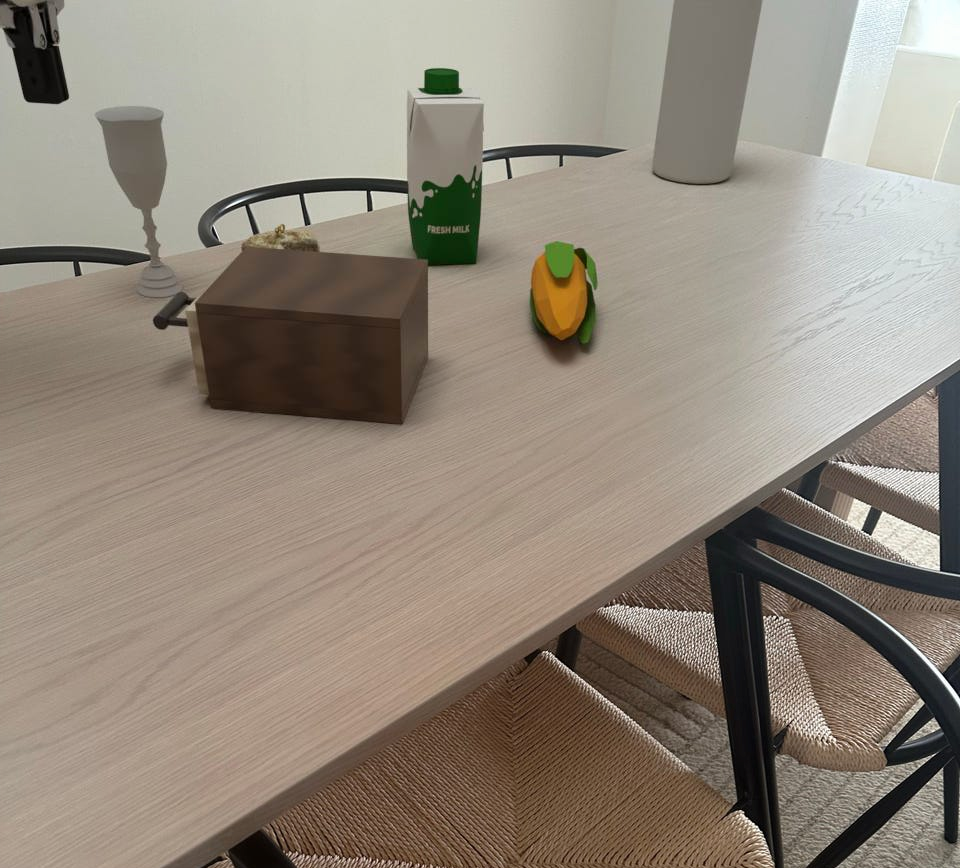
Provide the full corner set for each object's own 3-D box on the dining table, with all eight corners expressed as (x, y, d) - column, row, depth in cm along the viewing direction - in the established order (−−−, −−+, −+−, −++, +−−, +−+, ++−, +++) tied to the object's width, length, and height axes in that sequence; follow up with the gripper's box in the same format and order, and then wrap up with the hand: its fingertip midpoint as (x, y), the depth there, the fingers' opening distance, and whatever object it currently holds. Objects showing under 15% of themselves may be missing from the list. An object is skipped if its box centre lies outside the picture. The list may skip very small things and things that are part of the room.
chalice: (201, 293, 112) (174, 118, 100) (142, 305, 109) (108, 125, 97) (177, 273, 116) (149, 103, 105) (120, 284, 113) (84, 109, 102)
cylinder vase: (635, 171, 157) (658, -16, 141) (684, 159, 164) (711, -21, 148) (698, 190, 150) (729, -5, 134) (746, 176, 157) (781, -11, 141)
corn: (595, 225, 110) (607, 290, 95) (592, 293, 115) (604, 365, 100) (528, 227, 111) (530, 292, 95) (529, 295, 116) (530, 367, 100)
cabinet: (210, 408, 90) (194, 302, 84) (257, 343, 102) (246, 246, 95) (402, 424, 89) (400, 318, 83) (428, 357, 100) (428, 259, 94)
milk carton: (470, 242, 128) (475, 67, 116) (485, 266, 122) (491, 83, 109) (403, 244, 127) (400, 67, 114) (414, 269, 120) (412, 83, 107)
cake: (225, 279, 117) (217, 231, 114) (274, 256, 124) (267, 210, 121) (296, 287, 113) (288, 239, 110) (342, 263, 120) (336, 216, 117)
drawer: (146, 390, 91) (130, 305, 86) (196, 332, 101) (184, 253, 96) (377, 409, 89) (374, 324, 84) (403, 348, 100) (402, 269, 95)
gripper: (-14, -186, 77) (45, 81, 88) (-128, -189, 65) (-43, 119, 77) (79, -183, 76) (126, 86, 88) (-19, -185, 65) (50, 124, 76)
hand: (47, 100), depth 82 cm, fingers closed
